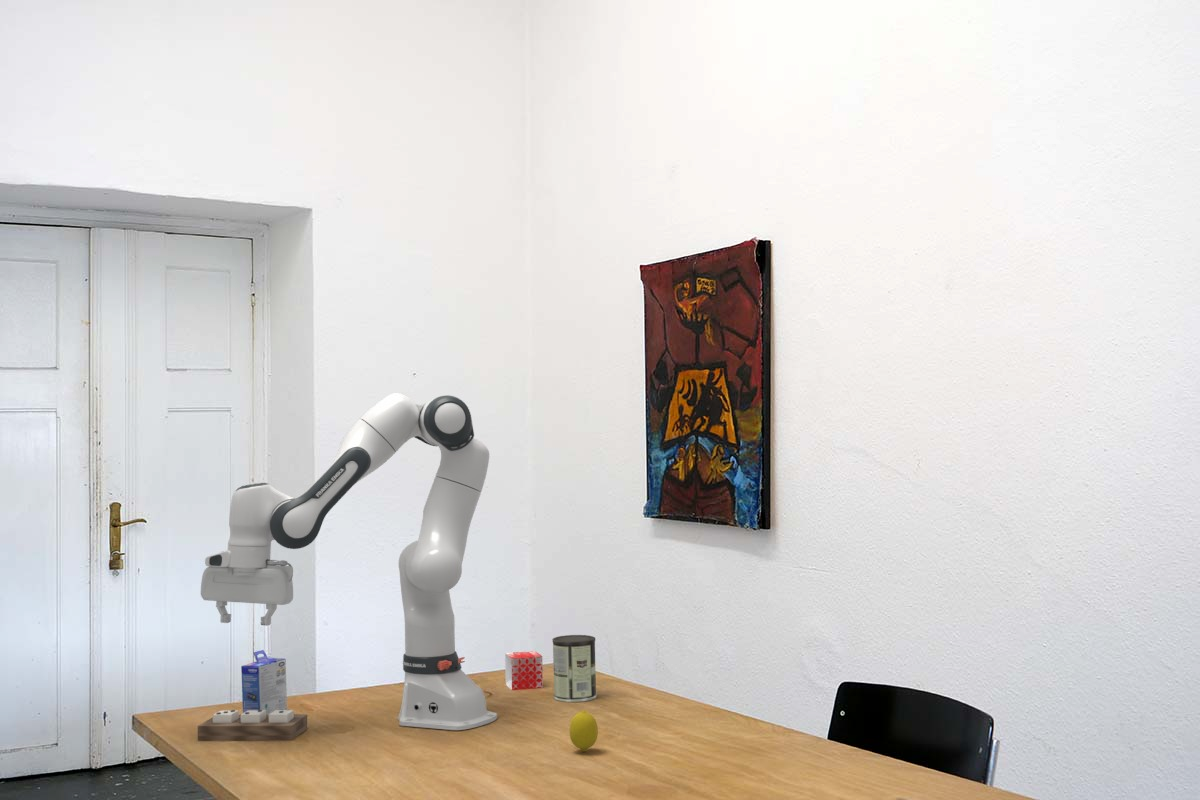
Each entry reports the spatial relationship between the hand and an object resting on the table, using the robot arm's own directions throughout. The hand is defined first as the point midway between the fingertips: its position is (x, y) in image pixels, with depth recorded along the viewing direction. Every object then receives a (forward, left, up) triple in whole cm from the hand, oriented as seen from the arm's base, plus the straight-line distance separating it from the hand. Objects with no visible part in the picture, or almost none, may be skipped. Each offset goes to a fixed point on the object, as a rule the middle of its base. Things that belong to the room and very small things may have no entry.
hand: (245, 623), depth 239 cm
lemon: (-71, -23, -23) cm, 78 cm away
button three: (+3, +3, -21) cm, 21 cm away
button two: (-2, 0, -21) cm, 21 cm away
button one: (-7, -3, -21) cm, 22 cm away
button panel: (-2, 0, -23) cm, 23 cm away
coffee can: (-42, -62, -23) cm, 79 cm away
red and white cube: (-23, -67, -24) cm, 75 cm away
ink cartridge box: (+10, -13, -23) cm, 29 cm away
